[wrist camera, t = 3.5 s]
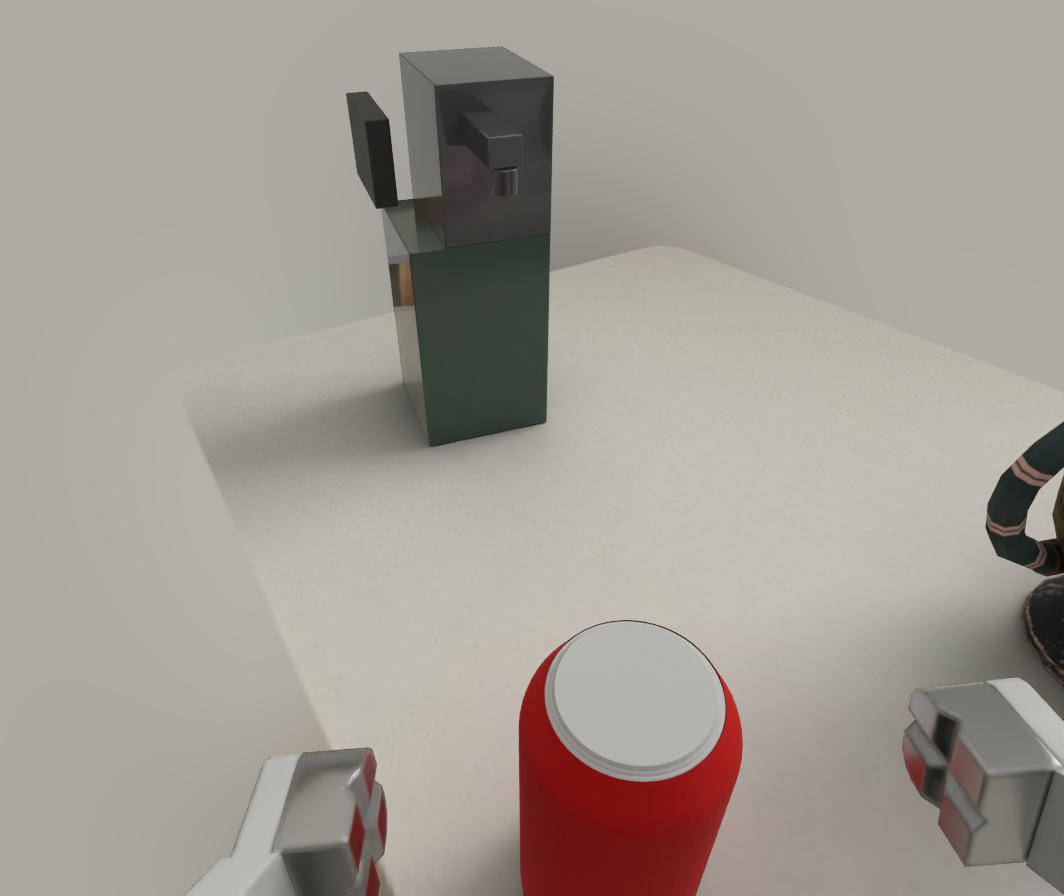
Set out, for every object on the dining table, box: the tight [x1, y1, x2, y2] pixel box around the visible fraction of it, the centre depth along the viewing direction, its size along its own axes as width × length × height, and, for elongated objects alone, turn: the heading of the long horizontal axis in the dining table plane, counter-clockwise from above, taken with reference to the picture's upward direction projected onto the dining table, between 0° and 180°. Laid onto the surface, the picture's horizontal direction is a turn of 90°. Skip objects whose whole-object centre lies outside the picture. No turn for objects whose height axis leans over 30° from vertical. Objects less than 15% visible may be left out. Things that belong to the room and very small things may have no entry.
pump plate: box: [346, 92, 398, 209], centre depth 39 cm, size 1×6×4 cm, turn 20°
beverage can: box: [519, 620, 743, 896], centre depth 23 cm, size 6×6×12 cm
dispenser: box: [381, 47, 554, 446], centre depth 42 cm, size 8×13×21 cm, turn 20°
